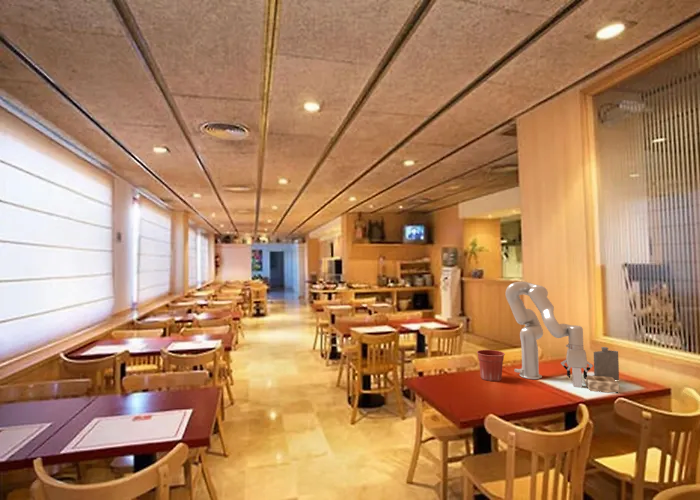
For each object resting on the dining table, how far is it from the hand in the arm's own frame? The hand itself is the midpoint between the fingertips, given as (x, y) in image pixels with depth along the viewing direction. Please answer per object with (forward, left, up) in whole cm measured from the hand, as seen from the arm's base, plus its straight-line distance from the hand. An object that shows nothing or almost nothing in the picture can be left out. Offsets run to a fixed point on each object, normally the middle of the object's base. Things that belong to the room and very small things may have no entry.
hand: (577, 377), depth 230 cm
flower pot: (-47, 0, -5) cm, 47 cm away
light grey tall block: (0, 0, -5) cm, 5 cm away
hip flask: (+18, +17, -5) cm, 25 cm away
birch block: (+12, 0, -5) cm, 13 cm away
